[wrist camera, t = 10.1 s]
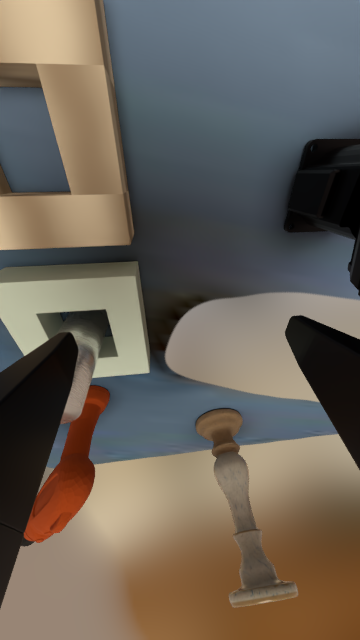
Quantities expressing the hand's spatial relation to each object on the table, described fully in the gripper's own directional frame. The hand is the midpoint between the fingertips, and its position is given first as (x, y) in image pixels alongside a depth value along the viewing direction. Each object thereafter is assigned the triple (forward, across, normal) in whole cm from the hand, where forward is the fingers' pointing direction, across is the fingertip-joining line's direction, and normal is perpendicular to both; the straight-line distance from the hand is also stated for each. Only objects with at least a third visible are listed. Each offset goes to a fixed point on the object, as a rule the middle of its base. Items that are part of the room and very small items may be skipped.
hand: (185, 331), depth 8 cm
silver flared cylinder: (+13, +9, +7) cm, 17 cm away
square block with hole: (+13, +9, +8) cm, 18 cm away
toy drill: (+13, +16, +26) cm, 33 cm away
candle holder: (+13, -8, +33) cm, 36 cm away
